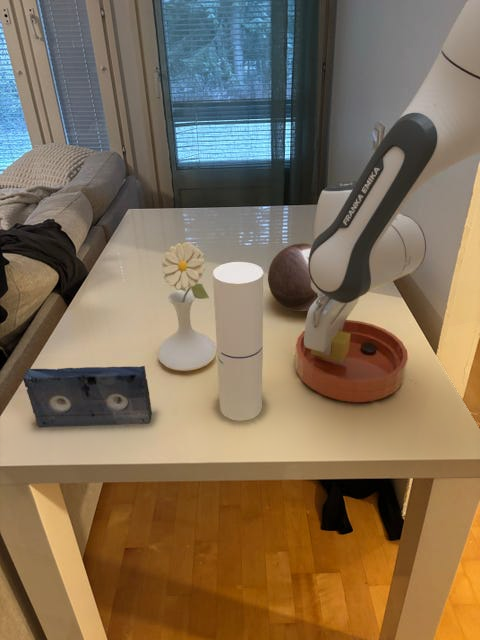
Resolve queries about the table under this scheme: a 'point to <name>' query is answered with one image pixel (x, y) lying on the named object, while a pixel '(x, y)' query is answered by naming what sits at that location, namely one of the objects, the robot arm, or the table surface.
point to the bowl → (356, 365)
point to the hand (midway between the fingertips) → (330, 345)
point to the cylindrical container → (239, 338)
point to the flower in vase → (185, 310)
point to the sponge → (337, 347)
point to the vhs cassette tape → (89, 396)
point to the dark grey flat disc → (368, 349)
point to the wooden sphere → (292, 278)
